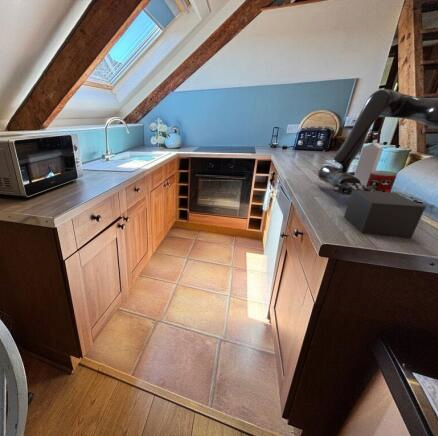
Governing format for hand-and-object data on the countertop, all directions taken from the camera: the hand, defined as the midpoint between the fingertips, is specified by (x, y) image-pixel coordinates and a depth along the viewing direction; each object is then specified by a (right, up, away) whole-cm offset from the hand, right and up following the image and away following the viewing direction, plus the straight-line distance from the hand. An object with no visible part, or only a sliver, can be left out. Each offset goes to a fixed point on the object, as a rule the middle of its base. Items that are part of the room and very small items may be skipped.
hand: (363, 195), depth 84 cm
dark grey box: (-4, -11, -8) cm, 14 cm away
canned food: (+20, 0, +17) cm, 27 cm away
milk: (+28, +7, +33) cm, 44 cm away
